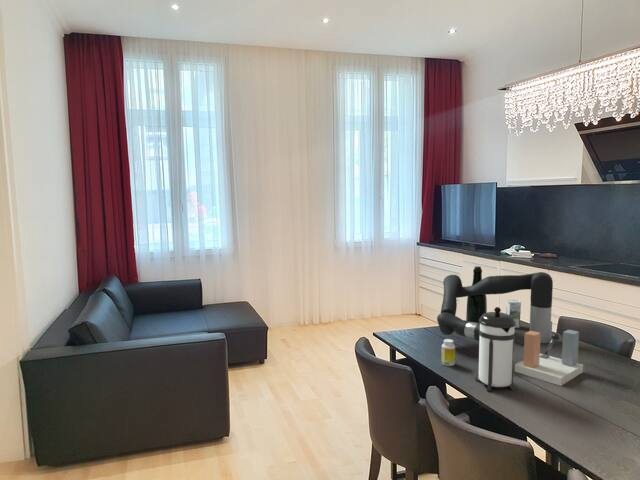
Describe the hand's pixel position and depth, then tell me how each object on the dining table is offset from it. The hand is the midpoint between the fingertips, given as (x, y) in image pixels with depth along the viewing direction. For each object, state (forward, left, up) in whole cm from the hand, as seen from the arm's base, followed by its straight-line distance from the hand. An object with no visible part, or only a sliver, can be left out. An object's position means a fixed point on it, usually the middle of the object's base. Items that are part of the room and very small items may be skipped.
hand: (515, 341), depth 186 cm
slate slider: (-17, +12, -8) cm, 22 cm away
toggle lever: (-14, +2, -7) cm, 16 cm away
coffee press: (+20, +8, -11) cm, 24 cm away
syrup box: (-44, -42, -11) cm, 62 cm away
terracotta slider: (-2, +7, -8) cm, 10 cm away
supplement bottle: (+22, -15, -11) cm, 29 cm away
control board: (-9, +10, -11) cm, 17 cm away
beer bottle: (-26, -50, -11) cm, 57 cm away
